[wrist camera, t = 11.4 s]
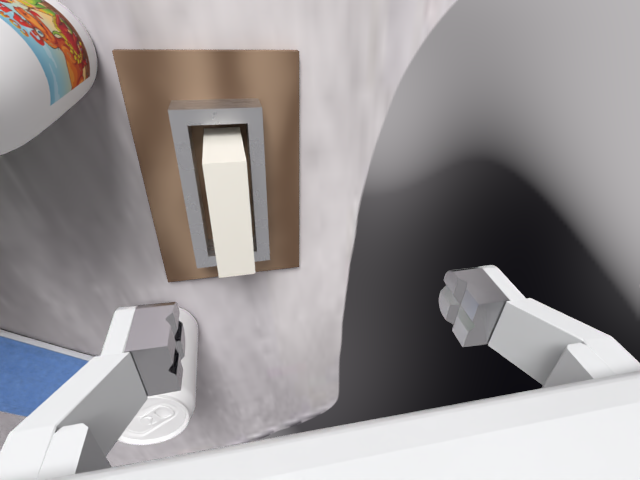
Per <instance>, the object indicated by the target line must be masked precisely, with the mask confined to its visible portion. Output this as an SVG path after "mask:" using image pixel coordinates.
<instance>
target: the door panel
mask: <svg viewBox="0 0 640 480" xmlns="http://www.w3.org/2000/svg"><path fill="white" fill-rule="evenodd" d="M202 166H203V173H204V180H205V187H206V193H207V200H208V207H209V215H210V222H211V228H212V234H213V241H214V248H215V255H216V262H217V268H218V275H219V278H223V277H231V276H240V275H248V274H255V262H254V249H253V237H252V217H251V205H250V199H249V186H248V174H247V161H246V156H245V151H244V146H243V141H242V136H241V131H240V127H229V128H204V137H203V157H202Z"/></svg>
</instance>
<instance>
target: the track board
mask: <svg viewBox="0 0 640 480" xmlns="http://www.w3.org/2000/svg"><path fill="white" fill-rule="evenodd" d="M112 52H113V56H114V61H115V65H116V69H117V73H118V77H119V81H120V85H121V90H122V94H123V98H124V102H125V106H126V110H127V114H128V118H129V123H130V127H131V131H132V135H133V139H134V143H135V147H136V151H137V156H138V160H139V164H140V168H141V172H142V176H143V180H144V184H145V189H146V193H147V197H148V201H149V205H150V209H151V213H152V218H153V222H154V226H155V230H156V234H157V238H158V242H159V246H160V251H161V255H162V259H163V263H164V267H165V271H166V275H167V279H168V282H175V281H183V280H192V279H200V278H209V277H217V276H219V275H218V268H217V266H213V267H204V268H197V266H196V261H195V255H194V250H193V244H192V239H191V234H190V228H189V223H188V217H187V212H186V206H185V201H184V196H183V190H182V185H181V179H180V174H179V168H178V163H177V158H176V152H175V147H174V141H173V136H172V130H171V125H170V120H169V114H168V108H169V105H170V102H171V100H208V99H250V98H258V99H259V101H260V103H261V106H262V113H263V133H264V152H265V172H266V191H267V211H268V230H269V250H270V260H266V261H257V262H255V272H259V271H268V270H276V269H284V268H293V267H299V51H298V50H113V51H112ZM229 127H240V131H241V136H242V141H243V146H244V151H245V156H246V161H247V174H248V186H249V199H250V205H251V217H252V235H254V224H253V211H252V198H251V185H250V171H249V158H248V145H247V132H246V123H245V124H219V125H192V126H191V131H192V137H193V144H194V150H195V157H196V163H197V169H198V176H199V182H200V189H201V195H202V202H203V208H204V215H205V221H206V227H207V234H208V240H210V239H213V234H212V228H211V222H210V215H209V207H208V200H207V193H206V187H205V180H204V173H203V166H202V157H203V137H204V128H229Z"/></svg>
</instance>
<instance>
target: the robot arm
mask: <svg viewBox="0 0 640 480" xmlns="http://www.w3.org/2000/svg"><path fill="white" fill-rule="evenodd" d="M444 282H445V283H446V286H445V287H444V288H443V289H442V290H441V292H440V296H439V307H440V310H441V313H442V315H443V316H444V318H445V319H446V320H447V321H448V322H450V323H452V324H453V329H452V331H453V332H454V334H455V336H456V337H457V339H458V340H459V342H460V343H461V345H462V347H467V346H475V345H483V344H488V346H490V347H491V348H493V349H494V350H495V351H497V352H498V353H499V354H501V355H502V356H504V357H505V358H506V359H508V360H509V361H510V362H512V363H513V364H515V365H516V366H517V367H519V368H520V369H521V370H523V371H524V372H526V373H527V374H528V375H530V376H531V377H533V378H534V379H535V380H537V381H538V382H539V383H541V384H542V385H543V386H542V388H541V389H536V390H531V391H526V392H520V393H514V394H509V395H503V396H498V397H492V398H487V399H482V400H477V401H471V402H466V403H460V404H455V405H450V406H444V407H438V408H433V409H427V410H422V411H417V412H411V413H406V414H400V415H395V416H390V417H384V418H379V419H373V420H368V421H363V422H357V423H351V424H346V425H340V426H335V427H330V428H324V429H319V430H313V431H307V432H302V433H296V434H291V435H286V436H280V437H275V438H270V439H263V440H258V441H253V442H247V443H242V444H236V445H231V446H225V447H220V448H214V449H209V450H203V451H198V452H193V453H187V454H182V455H176V456H171V457H165V458H160V459H154V460H149V461H143V462H138V463H132V464H127V465H122V466H116V467H111V465H110V464H109V462H108V460H107V458H106V456H107V454H108V453H109V451H110V450H111V449H112V447H113V446H114V444H115V443H116V442H117V440H118V439H119V438H120V436H121V435H122V433H123V432H124V431H125V429H126V428H127V427H128V425H129V424H130V422H131V421H132V420H133V418H134V417H135V416H136V414H137V413H138V411H139V410H140V409H141V407H142V406H143V405H144V403H145V402H146V400H147V399H148V396H154V395H159V394H165V393H170V392H176V391H181V385H182V377H183V367H182V363H181V360H182V359H183V357H184V356H185V332H184V327H183V323H182V322H180V321H179V314H180V311H179V307H178V304H177V303H176V302H170V303H159V304H148V305H138V306H131V307H120V308H118V309H117V310H116V311H115V312H114V315H113V318H112V321H111V324H110V327H109V330H108V333H107V336H106V339H105V342H104V346H103V349H102V352H101V355H100V356H96V357H93V358H92V359H91V360H90V361H89V362H88V363H87V364H85V365H84V366H83V367H82V368H81V369H80V370H79V371H78V372H77V373H75V374H74V375H73V376H72V377H71V378H70V379H69V380H68V381H67V382H65V383H64V384H63V385H62V386H61V387H60V388H59V389H58V390H57V391H55V392H54V393H53V394H52V395H51V396H50V397H49V398H48V399H47V400H46V401H44V402H43V403H42V404H41V405H40V406H39V407H38V408H37V409H36V410H34V411H33V412H32V413H31V414H30V415H29V416H28V417H27V418H26V419H24V420H23V421H22V422H21V423H20V424H19V425H18V426H17V427H16V428H14V429H13V430H12V431H11V432H10V433H9V435H8V437H7V439H6V441H5V443H4V445H3V447H2V450H1V452H0V480H640V363H639V362H638V361H637V360H636V359H635V358H634V357H633V356H632V355H630V354H629V353H628V352H627V351H626V350H625V349H624V348H623V347H622V346H621V345H620V344H619V343H618V342H617V341H616V340H615V339H613V337H611V336H609V335H607V334H605V333H603V332H601V331H599V330H597V329H595V328H592V327H590V326H588V325H586V324H584V323H582V322H580V321H577V320H575V319H573V318H571V317H569V316H567V315H565V314H563V313H561V312H558V311H556V310H554V309H552V308H550V307H548V306H546V305H544V304H542V303H540V302H537V301H535V300H533V299H531V298H529V299H526V298H525V297H524V296H523V295H522V294H521V293H520V292H519V290H518V289H517V288H516V287H515V286H514V285H513V284H512V283H511V282H510V281H509V280H508V278H507V277H506V276H505V275H504V274H503V273H502V272H501V271H500V270H499V269H498V268H497V267H496V266H494V265H489V266H481V267H476V268H475V267H474V268H466V269H458V270H450V271H448V272H447V273H446V274H445V278H444Z"/></svg>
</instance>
